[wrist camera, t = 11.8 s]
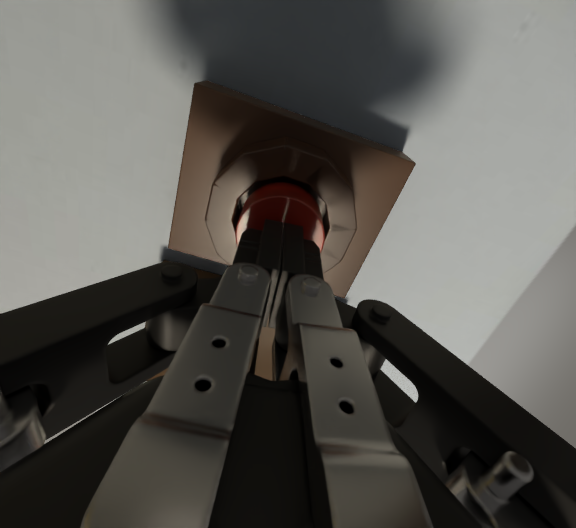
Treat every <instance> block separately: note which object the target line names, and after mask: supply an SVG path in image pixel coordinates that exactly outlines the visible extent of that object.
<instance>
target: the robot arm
mask: <svg viewBox="0 0 576 528" xmlns="http://www.w3.org/2000/svg"><path fill="white" fill-rule="evenodd" d="M320 256H321V254H320V248H319V247H318V246H317V244H316V243H315V242H314V241H312V240H307V239H304V236H303V226H299V225H294V224H289V223H284V227H283V222H279V221H274V220H269V219H265V222H264V227H263V231H262V230H257V229H252V228H249V229H247V230H246V231H244V232H243V233H242V235H241V238H240V241H239V244H238V248H237V251H236V254H235V257H234V261H233V264H232V265H230V266H229V267H227V269H226V270H225V272H224V274H223V275H222V276H219V277H215V278H198V274H197V272H196V271H195V270H194V269H193V268H192V267H190V266H188V265H186V264H183V263H179V262H163V263H159V264H155V265H152V266H149V267H146V268H143V269H140V270H137V271H133V272H130V273H127V274H124V275H121V276H118V277H115V278H112V279H108V280H105V281H102V282H99V283H96V284H93V285H90V286H87V287H83V288H80V289H77V290H74V291H71V292H68V293H65V294H62V295H58V296H55V297H52V298H49V299H46V300H43V301H40V302H37V303H33V304H30V305H27V306H24V307H21V308H18V309H15V310H12V311H8V312H5V313H2V314H0V528H576V449H575V448H574V447H573V446H572V445H570V444H569V443H568V442H566V441H565V440H564V439H563V438H561V437H560V436H559V435H557V434H556V433H555V432H553V431H552V430H551V429H550V428H548V427H547V426H546V425H544V424H543V423H542V422H540V421H539V420H538V419H537V418H535V417H534V416H533V415H531V414H530V413H529V412H527V411H526V410H525V409H524V408H522V407H521V406H520V405H518V404H517V403H516V402H515V401H513V400H512V399H511V398H509V397H508V396H507V395H505V394H504V393H503V392H502V391H500V390H499V389H498V388H496V387H495V386H494V385H493V384H491V383H490V382H489V381H487V380H486V379H485V378H483V377H482V376H481V375H479V374H478V373H477V372H476V371H474V370H473V369H472V368H470V367H469V366H468V365H467V364H465V363H464V362H463V361H461V360H460V359H459V358H458V357H456V356H455V355H454V354H452V353H451V352H450V351H448V350H447V349H446V348H445V347H443V346H442V345H441V344H439V343H438V342H437V341H435V340H434V339H433V338H432V337H430V336H429V335H428V334H426V333H425V332H424V331H423V330H421V329H420V328H419V327H417V326H416V325H415V324H413V323H412V322H411V321H410V320H408V319H407V318H406V317H404V316H403V315H402V314H401V313H399V312H398V311H397V310H395V309H394V308H393V307H391V306H389V305H388V304H386V303H383V302H381V301H377V300H363V301H361V302H360V303H359V304H358V306H357V308H355V307H352V306H350V305H347V304H345V303H342V302H340V301H338V300H337V299H335V297H334V294H333V290H332V288H331V286H330V285H329V284H328V283H327V282H326V281H324V276H323V269H322V263H321V257H320ZM269 313H270V314H269ZM268 317H269V324H268V328H274V329H275V336H274V340H273V344H272V381H271V380H267V379H265V378H262V377H260V376H257V375H255V374H252V373H249V371H250V367H251V363H252V359H253V354H254V350H255V346H256V342H257V339H258V338H259V336H260V333H261V329H262V327H266V326H267V322H268ZM145 321H146V328H144V329H141V330H139V331H137V332H135V333H133V334H131V335H128V336H126V337H124V338H122V339H120V340H118V341H115V342H113V343H111V344H109V345H108V343H109V342H110V340H111V339H112V338H113V337H115V336H116V335H117V334H119V333H121V332H123V331H125V330H128V329H130V328H132V327H134V326H137V325H139V324H141V323H143V322H145ZM385 359H387V360H388V361H389V362H390V363H391V364H392V365H394V366H395V367H396V368H397V369H398V370H399V371H400V372H401V373H402V374H403V375H405V376H406V377H407V378H408V379H409V380H410V381H411V382H412V383H413V384H414V385H415V387H416V389H417V391H418V401H417V402H416V403H415V402H414V401H413V400H412V399H411V398H410V397H409V396H408V395H407V394H406V393H405V392H403V391H402V390H401V389H400V388H399V387H398V386H397V385H396V384H395V383H394V382H393V381H392V380H391V379H390V378H389V377H388V376H387V375H386V374H384V373H383V372H382V371H381V370H380V369H381V367H382V365H383V363H384V361H385ZM167 368H168V369H167ZM165 369H167V371H166V373H165V375H163V376H159V377H157V378H154V379H151V380H149V381H147V380H148V379H150V378H152V377H153V376H155V375H157V374H159V373H160V372H162V371H164V370H165ZM145 381H147V382H145ZM143 382H144V383H143ZM131 389H132V390H131ZM126 392H127V393H126ZM123 394H124V395H123ZM121 395H122V396H121ZM120 396H121V397H120ZM118 397H119V398H118ZM116 398H117V399H116ZM115 399H116V400H115ZM113 400H114V401H113ZM111 401H113V402H111ZM109 402H111V403H109ZM108 403H109V404H108ZM106 404H108V405H106ZM104 405H106V406H105V407H103V406H104ZM101 407H103V408H101ZM99 408H101V409H100V410H98V409H99ZM96 410H98V411H97V412H95V413H94V414H92V415H90V416H89V417H87V418H86V419H84V420H82V421H81V422H79V423H78V424H76V425H74V426H73V427H72V428H70V429H68V430H67V431H65V432H63V433H62V434H60V435H59V436H57V437H56V438H54V439H52V440H51V441H49V442H47V443H46V444H44V442H45V440H47V439H48V438H50V437H52V436H54V435H55V434H57V433H59V432H60V431H62V430H64V429H65V428H67V427H69V426H70V425H72V424H74V423H76V422H77V421H79V420H81V419H82V418H84V417H86V416H87V415H89V414H91V413H93V412H94V411H96Z"/></svg>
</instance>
